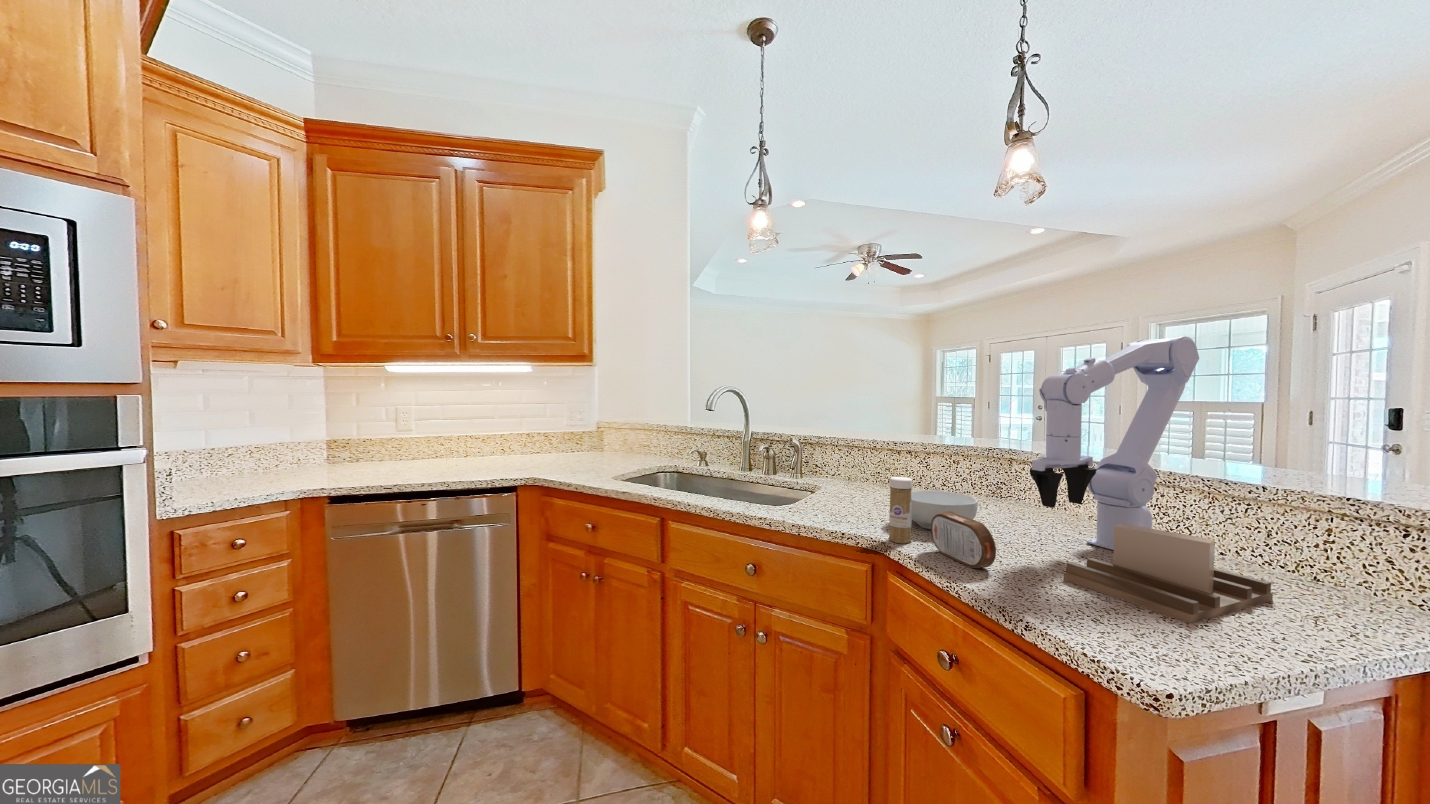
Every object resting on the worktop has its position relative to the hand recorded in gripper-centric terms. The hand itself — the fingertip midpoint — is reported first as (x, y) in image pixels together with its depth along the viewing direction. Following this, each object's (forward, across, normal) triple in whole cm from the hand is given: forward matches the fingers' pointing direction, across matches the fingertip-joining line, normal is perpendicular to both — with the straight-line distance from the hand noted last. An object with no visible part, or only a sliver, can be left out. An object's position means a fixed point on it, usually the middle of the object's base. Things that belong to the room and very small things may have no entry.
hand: (1062, 504), depth 104 cm
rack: (+9, +3, +19) cm, 21 cm away
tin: (+10, +22, -4) cm, 24 cm away
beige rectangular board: (+8, +3, +19) cm, 21 cm away
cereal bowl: (+10, +8, -24) cm, 27 cm away
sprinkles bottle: (+10, +24, -18) cm, 31 cm away
